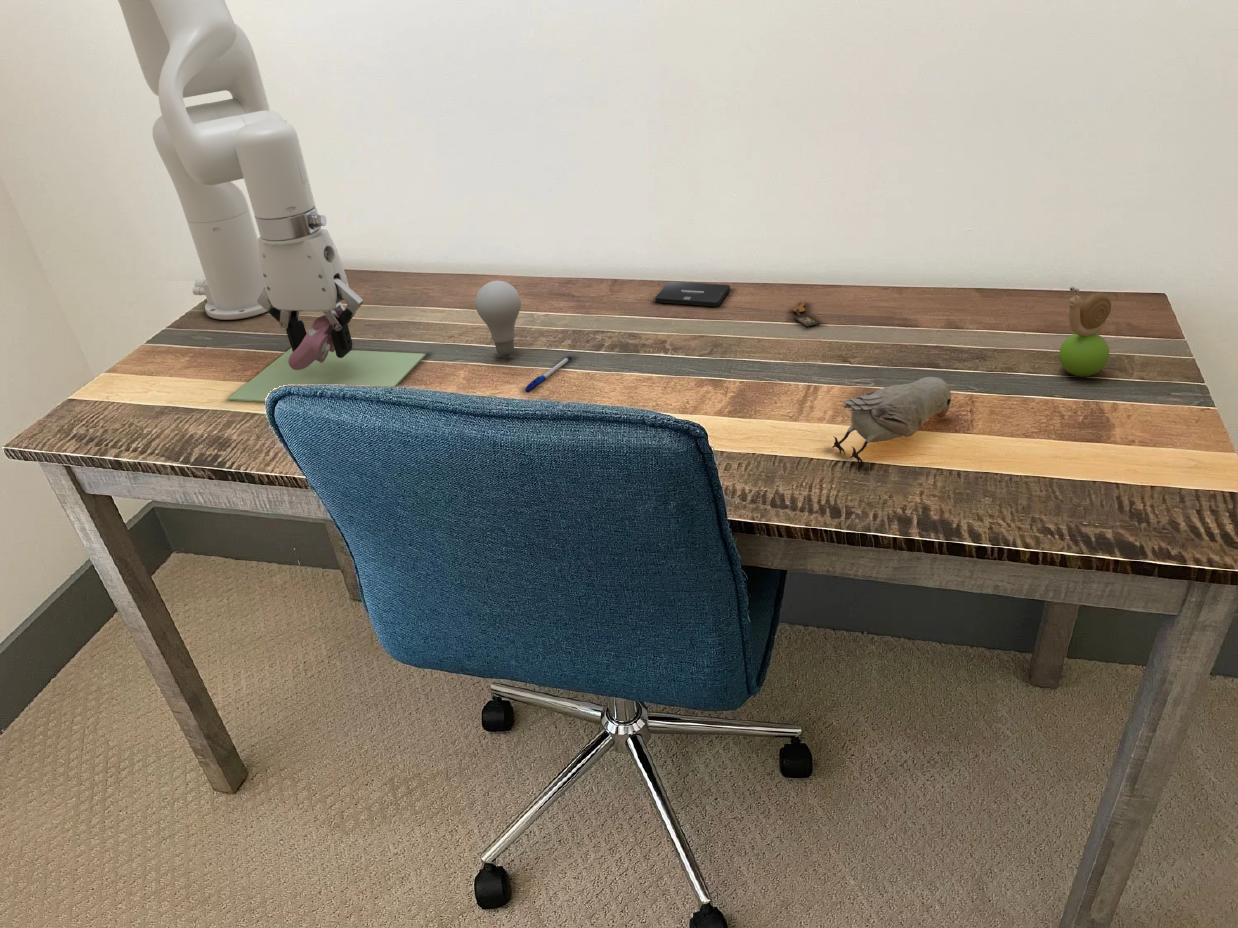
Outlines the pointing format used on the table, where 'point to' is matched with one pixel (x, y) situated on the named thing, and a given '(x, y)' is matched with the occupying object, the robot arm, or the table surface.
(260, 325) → the table surface
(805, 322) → the key tag
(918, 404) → the decorative bird
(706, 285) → the solid state drive
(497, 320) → the lightbulb
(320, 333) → the video game controller
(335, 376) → the desk mat
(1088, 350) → the snail figurine
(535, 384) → the ballpoint pen
